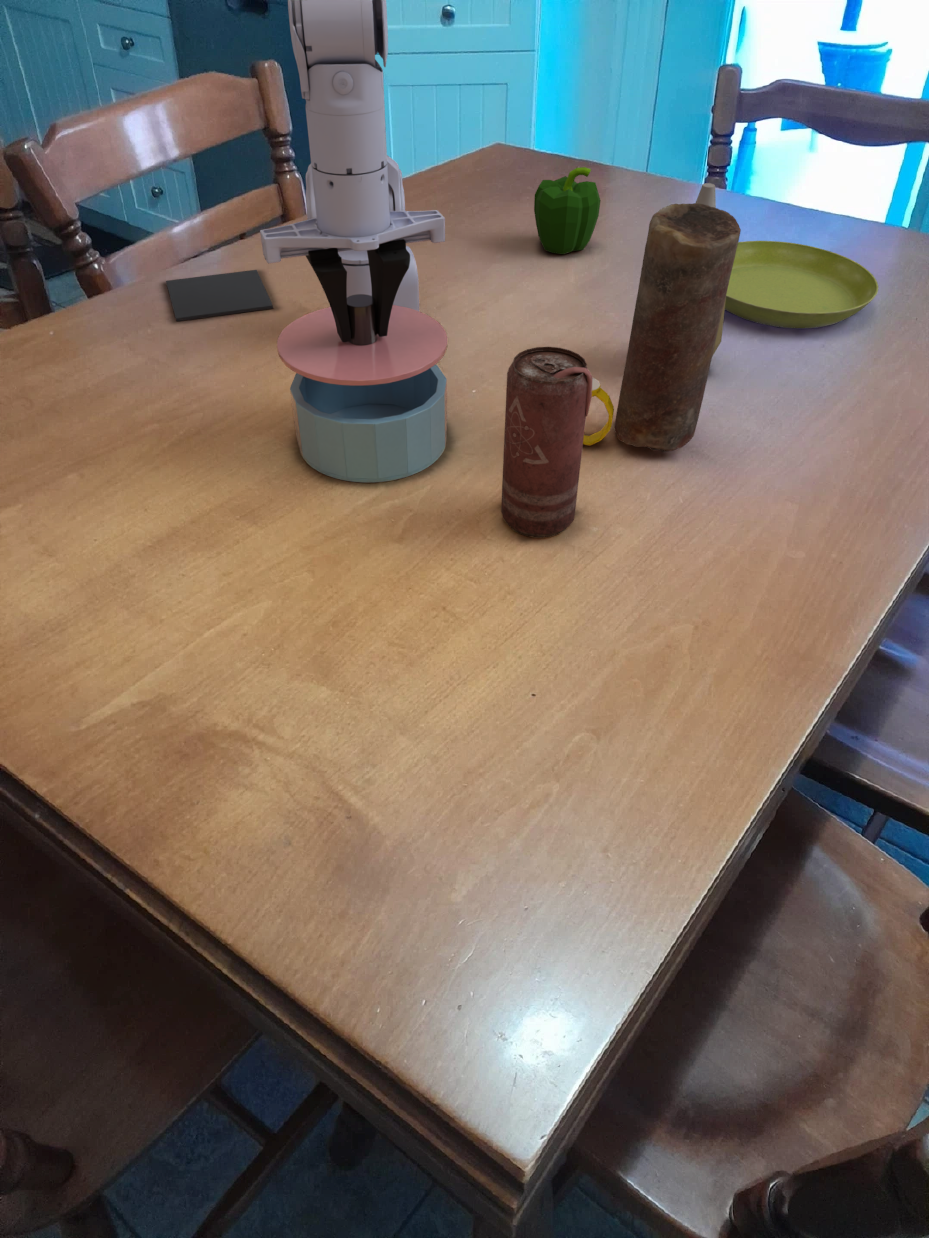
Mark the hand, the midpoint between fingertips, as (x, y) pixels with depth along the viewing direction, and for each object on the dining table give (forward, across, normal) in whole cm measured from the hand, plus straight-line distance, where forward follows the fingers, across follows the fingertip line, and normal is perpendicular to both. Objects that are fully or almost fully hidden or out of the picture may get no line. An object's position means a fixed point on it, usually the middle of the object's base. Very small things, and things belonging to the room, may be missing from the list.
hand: (362, 334), depth 77 cm
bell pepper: (+10, +36, +37) cm, 53 cm away
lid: (+1, 0, 0) cm, 1 cm away
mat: (+10, -9, +36) cm, 39 cm away
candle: (+10, +25, -9) cm, 29 cm away
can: (+10, +10, -17) cm, 22 cm away
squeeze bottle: (+10, +34, +3) cm, 36 cm away
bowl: (+10, 0, -1) cm, 10 cm away
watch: (+10, +18, -7) cm, 22 cm away
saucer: (+10, +54, +14) cm, 57 cm away
